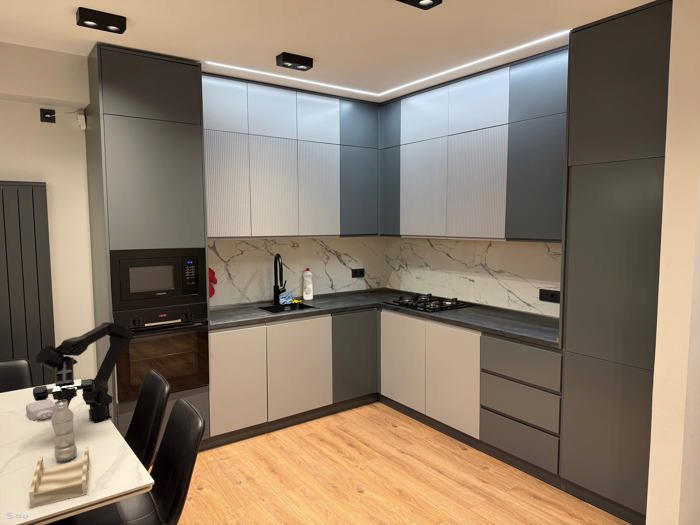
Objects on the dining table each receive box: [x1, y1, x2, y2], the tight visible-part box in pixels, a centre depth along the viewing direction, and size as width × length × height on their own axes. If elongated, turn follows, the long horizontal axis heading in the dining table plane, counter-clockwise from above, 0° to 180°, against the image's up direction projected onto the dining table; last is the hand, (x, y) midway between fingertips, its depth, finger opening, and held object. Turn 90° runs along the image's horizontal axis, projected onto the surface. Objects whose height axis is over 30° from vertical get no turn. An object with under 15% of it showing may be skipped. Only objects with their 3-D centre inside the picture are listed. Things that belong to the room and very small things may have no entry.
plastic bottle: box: [50, 400, 78, 463], centre depth 167 cm, size 6×7×20 cm
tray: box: [28, 446, 90, 509], centre depth 153 cm, size 23×14×4 cm, turn 26°
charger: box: [25, 398, 56, 421], centre depth 204 cm, size 5×9×15 cm
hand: (64, 411), depth 174 cm, fingers closed
